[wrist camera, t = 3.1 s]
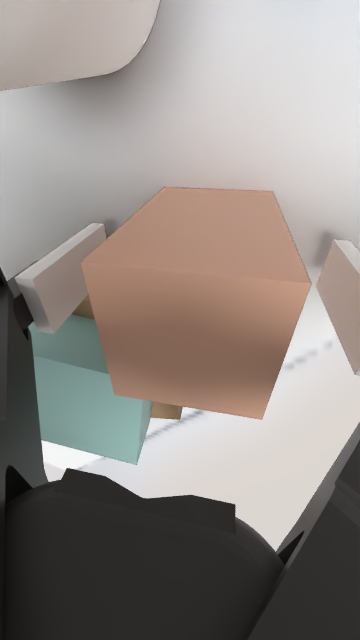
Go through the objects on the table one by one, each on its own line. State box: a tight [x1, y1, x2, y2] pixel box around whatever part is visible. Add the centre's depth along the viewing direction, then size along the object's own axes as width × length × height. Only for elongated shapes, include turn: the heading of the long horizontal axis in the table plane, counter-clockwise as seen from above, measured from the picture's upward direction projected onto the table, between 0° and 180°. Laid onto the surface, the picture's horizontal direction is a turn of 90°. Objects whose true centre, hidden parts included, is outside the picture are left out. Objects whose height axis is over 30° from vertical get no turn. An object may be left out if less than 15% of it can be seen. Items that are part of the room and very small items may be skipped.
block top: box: [28, 314, 153, 465], centre depth 19 cm, size 11×11×4 cm
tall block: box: [80, 187, 312, 419], centre depth 12 cm, size 6×6×10 cm
